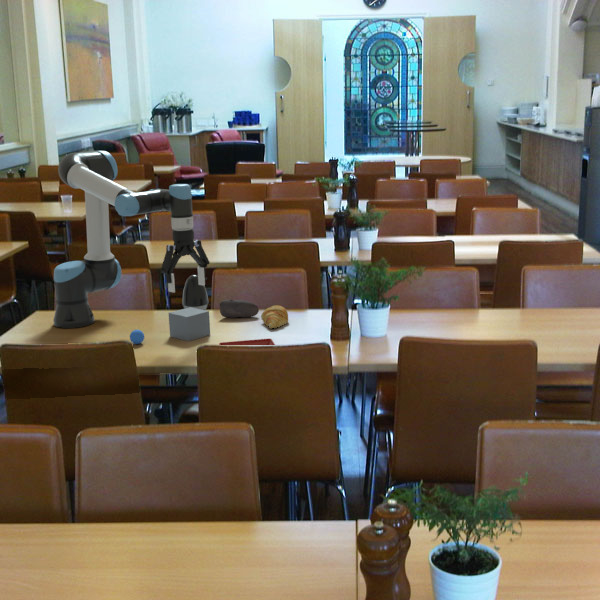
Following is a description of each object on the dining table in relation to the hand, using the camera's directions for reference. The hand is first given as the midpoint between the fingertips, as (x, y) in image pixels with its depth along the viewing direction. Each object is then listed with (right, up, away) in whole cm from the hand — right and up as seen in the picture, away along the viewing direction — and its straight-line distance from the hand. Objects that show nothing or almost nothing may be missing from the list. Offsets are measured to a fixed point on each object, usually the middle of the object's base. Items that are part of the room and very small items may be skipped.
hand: (187, 288), depth 308 cm
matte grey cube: (+1, -17, +4) cm, 18 cm away
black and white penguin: (-1, -9, +38) cm, 39 cm away
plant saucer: (+23, -23, -22) cm, 39 cm away
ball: (-17, -17, -4) cm, 24 cm away
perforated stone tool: (+17, -11, +28) cm, 35 cm away
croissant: (+31, -13, +18) cm, 38 cm away
